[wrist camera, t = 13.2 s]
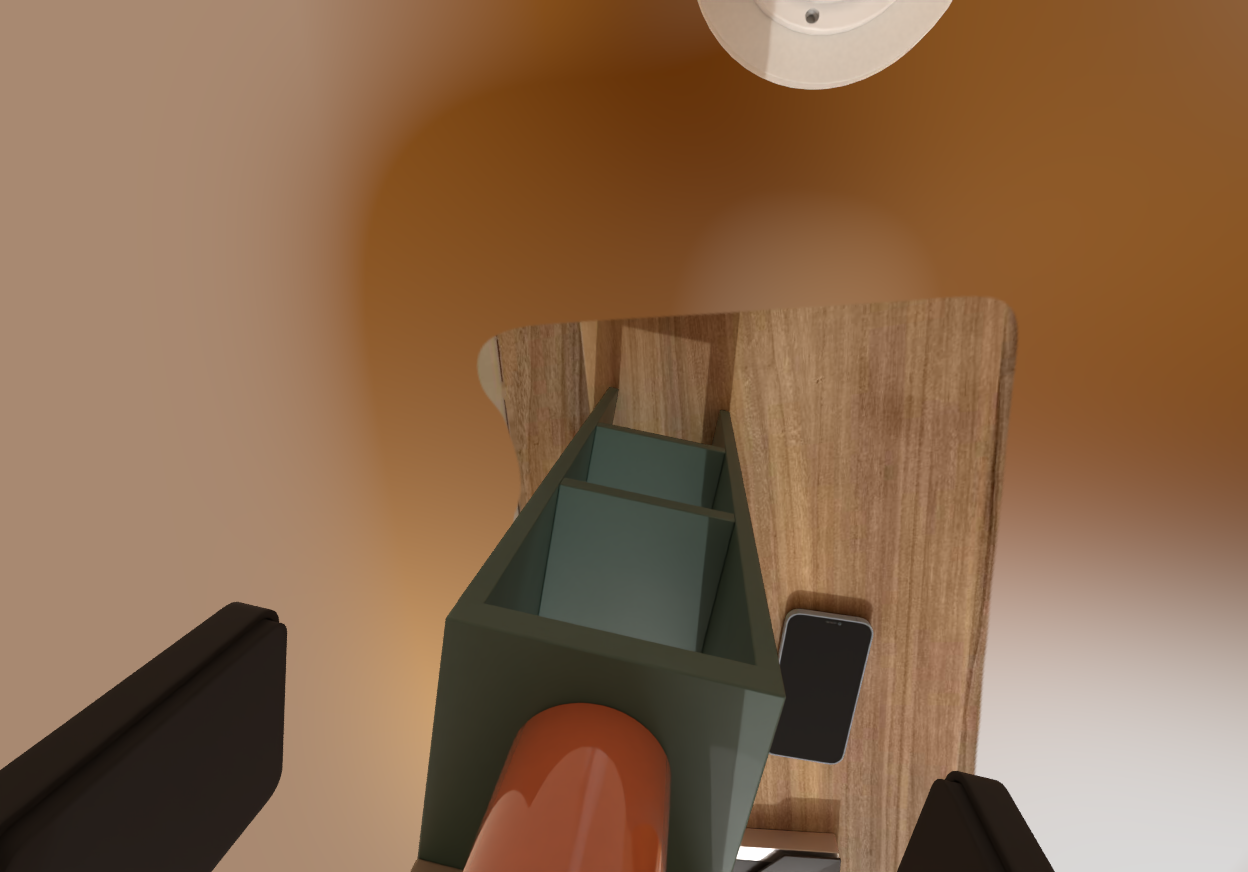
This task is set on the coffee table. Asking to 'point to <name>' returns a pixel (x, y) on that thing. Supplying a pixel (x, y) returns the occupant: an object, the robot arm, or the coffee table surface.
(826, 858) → the picture frame
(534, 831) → the canister
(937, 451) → the coffee table surface
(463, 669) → the shelf
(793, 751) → the smartphone
